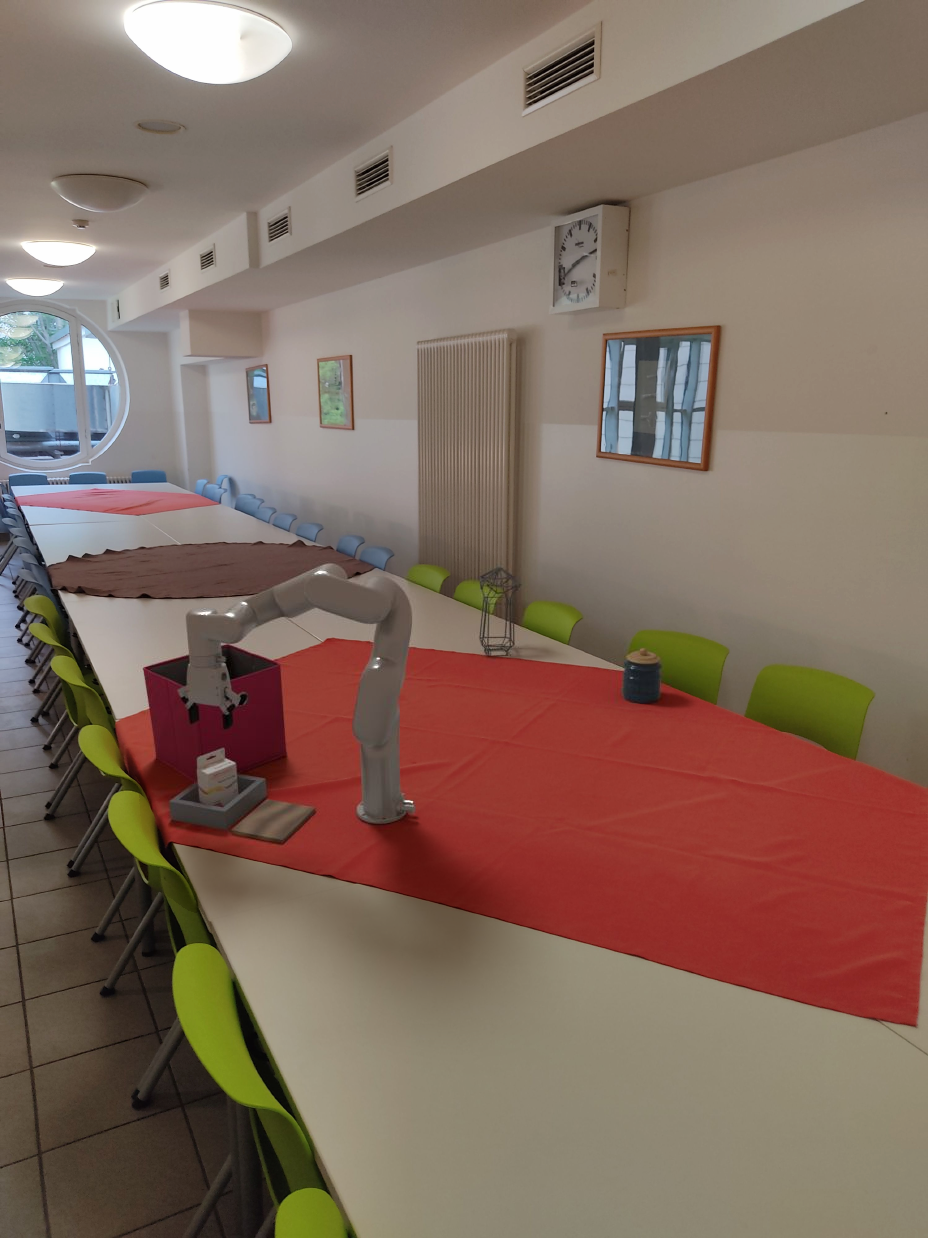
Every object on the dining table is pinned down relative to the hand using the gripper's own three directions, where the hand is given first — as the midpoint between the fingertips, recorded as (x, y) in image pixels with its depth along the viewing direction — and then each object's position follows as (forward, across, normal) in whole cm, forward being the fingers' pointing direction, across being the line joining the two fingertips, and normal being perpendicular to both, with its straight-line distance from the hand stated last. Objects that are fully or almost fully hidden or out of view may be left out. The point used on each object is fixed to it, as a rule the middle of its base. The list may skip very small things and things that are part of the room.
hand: (211, 724), depth 202 cm
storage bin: (+23, +16, -25) cm, 38 cm away
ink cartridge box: (+23, 0, 0) cm, 23 cm away
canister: (+22, -92, -111) cm, 146 cm away
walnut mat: (+23, -18, +2) cm, 29 cm away
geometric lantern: (+22, -32, -142) cm, 147 cm away
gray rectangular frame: (+23, 0, 0) cm, 23 cm away
